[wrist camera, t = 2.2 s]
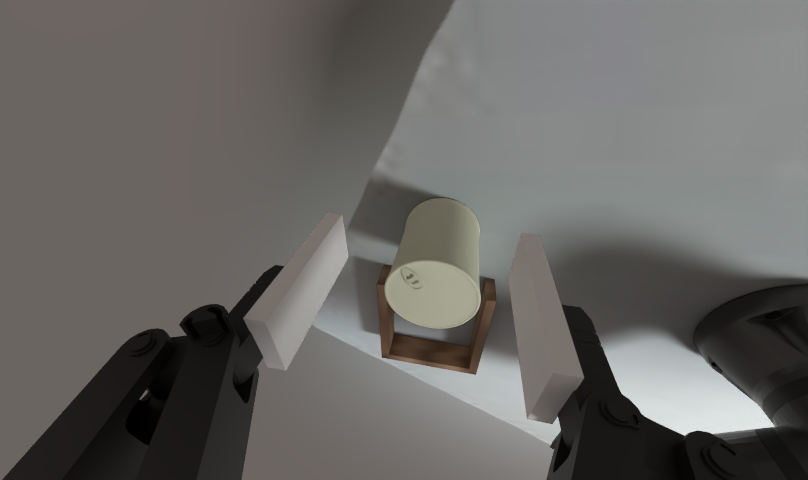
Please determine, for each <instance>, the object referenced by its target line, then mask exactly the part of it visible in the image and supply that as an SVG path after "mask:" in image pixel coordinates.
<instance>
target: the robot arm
mask: <svg viewBox="0 0 808 480" xmlns="http://www.w3.org/2000/svg"><path fill="white" fill-rule="evenodd" d="M347 259H348V250H347V243H346V236H345V229H344V223H343V215H342V214H340V213H330V212H328V213H327V214H326V215H325V216H324V217H323V219H322V220H321V221H320V222H319V224H318V225H317V226H316V227H315V229H314V230H313V231H312V233H311V234H310V235H309V236H308V238H307V239H306V240H305V241H304V243H303V244H302V245H301V246H300V248H299V249H298V250H297V251H296V253H295V254H294V255H293V256H292V258H291V259H290V260H289V261H288V263H287V264H286V265H285V266H278V265H275V266H273V267H272V268H270V269H269V270H267V271H266V272H264V273H263V275H262V276H261V277H260V278H259V279H258V280H257V281H256V284H254V285H253V286H252V287H251V288H250V291H248V292H247V293H246V294H245V295H244V296H243V298H242V299H241V300H240V301H239V302H238V303H237V305H236V306H235V307H234V308H233V309H232V310H231V312H230V313H229V314H228V312H227V310H226V309H225V308H224V306H221V305H218V304H210V305H206V306H202V307H200V308H198V309H196V310H194V311H192V312H190V313H189V314H188V315H187V316H186V317H184V319H183V320H182V321H181V323H180V326H181V328H182V329H183V331H184V332H185V333H186V335H187V336H180V337H171V338H170V336H169V335H168V334H167V333H166V332H165V331H164V330H162V329H150V330H146V331H144V332H141V333H138V334H137V335H135V336H133V337H132V338H130V339H129V340H128V341H127V342H125V344H123V345H122V346H121V347H120V349H119V350H118V351H117V352H116V353H115V354H114V355H113V356H112V357H111V358H110V360H109V361H108V362H107V363H106V364H105V365H104V366H103V367H102V369H101V370H100V371H99V372H98V373H97V374H96V375H95V376H94V377H93V379H92V380H91V381H90V382H89V383H88V384H87V385H86V387H85V388H84V389H83V390H82V391H81V392H80V393H79V394H78V395H77V397H76V398H75V399H74V400H73V401H72V402H71V403H70V405H69V406H68V407H67V408H66V409H65V410H64V411H63V412H62V414H61V415H60V416H59V417H58V418H57V419H56V420H55V421H54V422H53V424H52V425H51V426H50V427H49V428H48V429H47V431H45V432H44V434H43V435H42V436H41V437H40V438H39V439H38V440H37V441H36V443H35V444H34V445H33V446H32V447H31V448H30V449H29V450H28V452H27V453H26V454H25V455H24V456H23V457H22V458H21V459H20V461H19V462H18V463H17V464H16V465H15V466H14V467H13V468H12V469H11V471H10V472H9V473H8V474H7V475H6V476H5V477H4V478H3V480H241V479H242V473H243V467H244V461H245V455H246V449H247V443H248V437H249V431H250V425H251V419H252V413H253V407H254V401H255V395H256V389H257V383H258V377H259V371H258V368H257V366H258V364H259V363H260V361H261V360H262V358H263V359H264V361H265V363H266V365H267V367H272V368H277V369H281V370H287V368H288V366H289V364H290V363H291V361H292V359H293V357H294V355H295V354H296V352H297V350H298V348H299V346H300V344H301V343H302V341H303V339H304V337H305V335H306V334H307V332H308V330H309V328H310V326H311V324H312V323H313V321H314V319H315V317H316V315H317V314H318V312H319V310H320V308H321V306H322V304H323V303H324V301H325V299H326V297H327V295H328V294H329V292H330V290H331V288H332V286H333V284H334V283H335V281H336V279H337V277H338V275H339V274H340V272H341V270H342V268H343V266H344V264H345V263H346V261H347ZM508 281H509V288H510V296H511V303H512V310H513V318H514V325H515V333H516V340H517V347H518V355H519V362H520V370H521V377H522V385H523V392H524V399H525V407H526V414H527V419H530V420H535V421H540V422H545V423H550V424H553V422H554V421H555V419H556V418H557V417H558V418H559V422H560V427H561V432H560V433H559V434H558V436H557V437H556V438H555V439H554V441H553V442H552V444H551V446H550V447H551V448H552V449H554V448H555V449H554V452H553V456H552V460H551V464H550V468H549V472H548V476H547V480H808V285H798V286H787V287H780V288H774V289H769V290H764V291H760V292H756V293H753V294H750V295H747V296H744V297H741V298H738V299H736V300H734V301H731V302H729V303H727V304H725V305H723V306H721V307H720V308H718V309H716V310H715V311H713V312H712V313H711V314H709V315H708V316H707V317H706V318H705V319H704V320H703V321H702V322H701V323H700V324H699V326H698V327H697V329H696V331H695V334H694V343H695V346H696V348H697V349H698V351H699V352H700V353H701V355H702V356H703V358H704V359H705V361H706V362H707V363H708V364H709V365H710V366H711V367H712V368H713V369H714V370H716V371H717V372H718V373H720V374H722V375H723V376H724V377H725V378H726V379H727V380H728V381H729V382H731V383H732V384H733V385H734V386H736V387H737V388H738V389H739V390H741V391H742V392H743V393H744V394H746V395H747V396H748V397H749V398H751V399H752V400H753V401H754V402H756V403H757V404H758V405H759V406H760V407H761V409H762V410H763V411H764V412H765V414H766V415H767V416H768V418H769V419H770V420H771V422H772V423H773V424H774V426H775V427H770V428H762V429H755V430H754V429H753V430H744V431H736V432H727V433H718V434H711V433H708V432H702V431H694V432H691V433H688V434H687V435H686V436H684V435H681V434H679V433H677V432H675V431H673V430H671V429H669V428H666V427H664V426H662V425H660V424H658V423H656V422H653V421H652V420H650V419H648V418H646V417H645V416H643V415H642V414H641V413H640V411H639V409H638V408H637V407H636V406H635V405H634V404H633V403H632V402H631V401H630V400H629V399H628V398H626V397H625V396H623V395H622V394H621V392H620V390H619V388H618V386H617V383H616V381H615V378H614V376H613V373H612V371H611V368H610V366H609V363H608V361H607V358H606V356H605V353H604V351H603V348H602V347H601V343H600V341H599V338H598V336H597V335H596V331H595V328H594V326H593V323H592V321H591V319H590V318H589V317H588V316H587V314H586V313H585V312H584V311H583V310H582V309H581V308H580V307H574V306H567V305H561V302H560V299H559V296H558V293H557V289H556V286H555V283H554V280H553V277H552V273H551V270H550V267H549V264H548V261H547V257H546V254H545V251H544V248H543V245H542V242H541V238H540V235H535V234H525V233H521V236H520V240H519V243H518V246H517V250H516V253H515V257H514V260H513V263H512V267H511V270H510V274H509V277H508ZM145 390H147V391H148V393H147V394H146V395H145V396H144V397H143V398H142V399H141V400H139V399H140V397H141V396H142V395H143V393H144V392H145Z"/></svg>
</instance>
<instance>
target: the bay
mask: <svg viewBox="0 0 808 480" xmlns="http://www.w3.org/2000/svg"><path fill="white" fill-rule="evenodd" d="M391 268H392V266H388V265H384V267H383V270H382V272H381V275H380V277H379V280H378V283H377V294H378V308H379V322H380V336H381V350H382V358H388V359H393V360H399V361H404V362H410V363H415V364H421V365H426V366H431V367H437V368H442V369H448V370H453V371H459V372H464V373H469V374H475V375H476V372H477V369H478V365H479V362H480V358H481V354H482V351H483V347H484V344H485V340H486V337H487V333H488V329H489V326H490V322H491V319H492V315H493V312H494V308H495V304H496V292H495V280H493V279H485V283H484V287H483V291H482V296H481V303H480V307H479V309H478V313H477V317H476V321H475V326H474V330H473V334H472V339H471V343H470V347H466V346H460V345H455V344H449V343H443V342H437V341H431V340H425V339H419V338H413V337H408V336H402V335H396V334H394V310H393V309H392V308H391V307H390V305H389V303H388V302H387V299H386V297H385V291H384V287H385V282H386V279H387V277H388V275H389V273H390V270H391Z"/></svg>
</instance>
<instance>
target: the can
mask: <svg viewBox="0 0 808 480" xmlns="http://www.w3.org/2000/svg"><path fill="white" fill-rule="evenodd" d="M479 235H480V227H479V223H478V220H477V218H476V216H475V215H474V213H473V212H472V211H471V210H470V209H469V208H468V207H467V206H465V205H464V204H462V203H460V202H458V201H455V200H452V199H447V198H435V199H430V200H427V201H424V202H422V203H420V204H419V205H417V206H416V207H415V208H414V209H413V210H412V211H411V212H410V214H409V216H408V218H407V221H406V226H405V231H404V234H403V237H402V240H401V243H400V245H399V248H398V251H397V254H396V257H395V260H394V262H393V265H392V268H391V270H390V273H389V275H388V277H387V279H386V282H385V287H384V291H385V297H386V299H387V302H388V303H389V305H390V307H391V308H392V309H393V310H394V311H395V312H396V313H397V314H398V315H399V316H401V317H402V318H404V319H405V320H407V321H409V322H411V323H413V324H416V325H419V326H422V327H427V328H434V329H444V328H452V327H456V326H459V325H461V324H464V323H465V322H467V321H469V320H470V319H471V318H472V317H473V316H474V315H475V314H476V313H477V311H478V309H479V307H480V303H481V294H480V285H479V249H478V240H479Z"/></svg>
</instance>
